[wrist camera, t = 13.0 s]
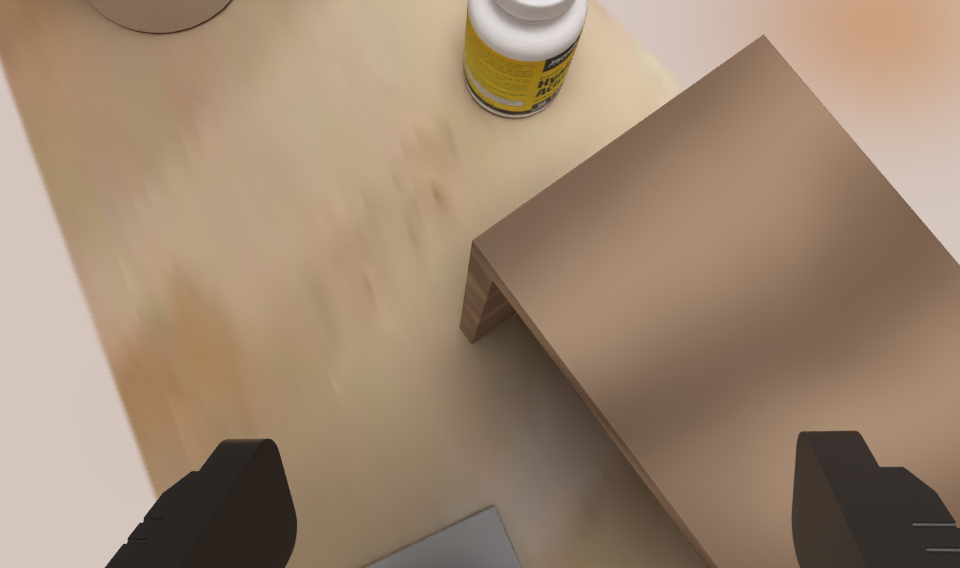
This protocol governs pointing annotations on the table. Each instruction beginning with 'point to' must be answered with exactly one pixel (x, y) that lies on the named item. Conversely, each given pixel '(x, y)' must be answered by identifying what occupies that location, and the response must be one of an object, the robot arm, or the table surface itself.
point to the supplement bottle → (520, 52)
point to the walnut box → (736, 304)
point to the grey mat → (459, 546)
